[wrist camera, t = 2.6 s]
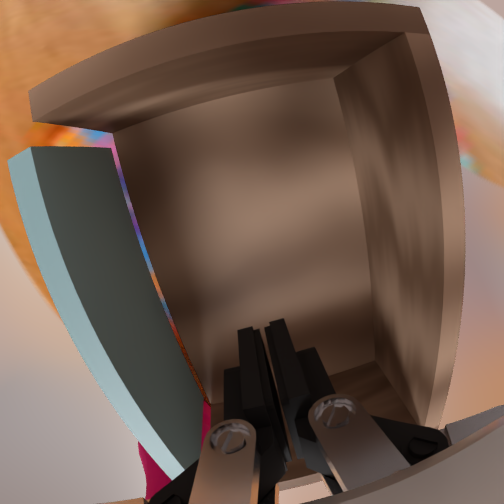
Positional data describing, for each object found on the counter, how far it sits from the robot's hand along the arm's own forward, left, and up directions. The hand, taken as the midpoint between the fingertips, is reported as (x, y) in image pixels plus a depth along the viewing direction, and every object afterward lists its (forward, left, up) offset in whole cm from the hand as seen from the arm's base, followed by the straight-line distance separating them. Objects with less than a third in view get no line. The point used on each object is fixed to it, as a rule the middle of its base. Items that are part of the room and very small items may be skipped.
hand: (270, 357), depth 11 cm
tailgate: (0, -6, -8) cm, 10 cm away
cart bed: (0, +1, -13) cm, 13 cm away
